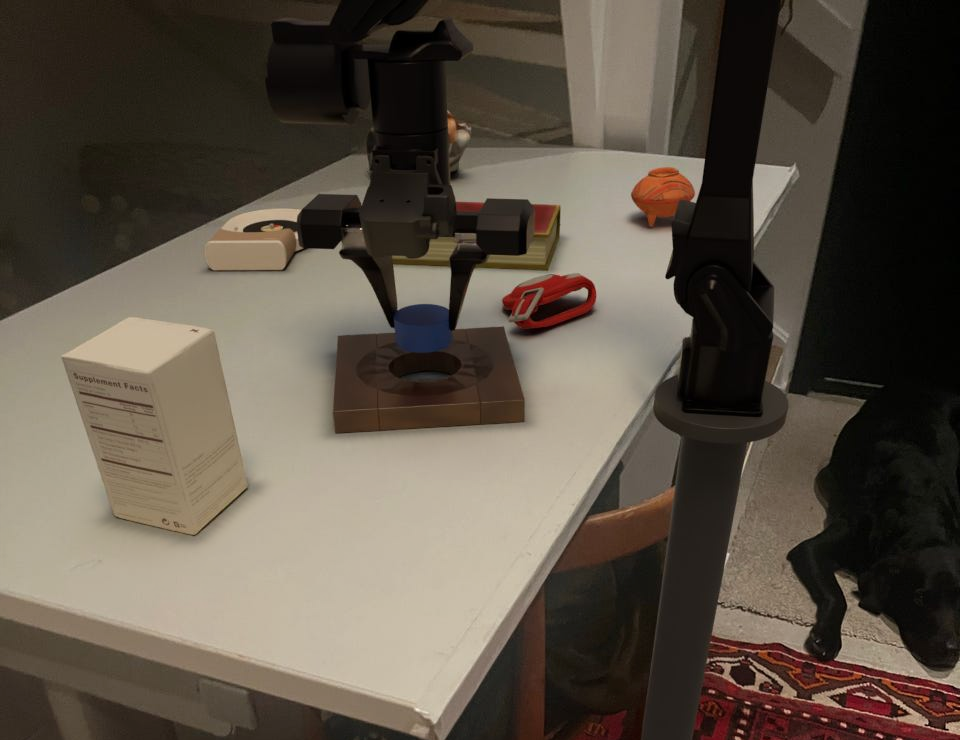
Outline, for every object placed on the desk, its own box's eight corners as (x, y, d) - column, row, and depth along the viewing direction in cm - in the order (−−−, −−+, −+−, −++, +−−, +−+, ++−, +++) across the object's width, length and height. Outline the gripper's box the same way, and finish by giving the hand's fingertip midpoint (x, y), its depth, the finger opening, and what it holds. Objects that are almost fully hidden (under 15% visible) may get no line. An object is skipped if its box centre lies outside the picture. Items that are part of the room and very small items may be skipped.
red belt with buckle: (490, 287, 100) (579, 257, 99) (502, 328, 102) (589, 299, 101) (504, 301, 89) (604, 267, 89) (517, 346, 91) (614, 314, 91)
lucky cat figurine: (467, 164, 144) (486, 80, 131) (451, 217, 139) (468, 135, 126) (374, 133, 142) (383, 45, 130) (353, 185, 137) (362, 100, 125)
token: (457, 331, 83) (456, 304, 81) (446, 354, 79) (445, 326, 78) (403, 329, 84) (401, 302, 82) (389, 351, 80) (387, 324, 78)
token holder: (503, 346, 91) (503, 326, 89) (524, 421, 79) (524, 400, 77) (340, 355, 90) (337, 335, 88) (335, 433, 78) (332, 411, 76)
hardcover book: (397, 231, 119) (394, 196, 116) (559, 237, 116) (560, 201, 113) (372, 262, 110) (369, 225, 107) (547, 270, 107) (548, 231, 104)
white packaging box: (172, 470, 73) (129, 313, 65) (251, 488, 71) (217, 326, 63) (110, 518, 68) (56, 353, 60) (193, 538, 66) (149, 370, 58)
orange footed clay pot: (684, 231, 115) (678, 173, 111) (626, 238, 119) (618, 182, 115) (706, 212, 120) (700, 155, 116) (650, 219, 124) (642, 165, 120)
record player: (193, 242, 107) (236, 196, 122) (198, 270, 109) (240, 221, 124) (292, 242, 106) (323, 195, 122) (296, 269, 108) (326, 220, 124)
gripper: (257, 150, 66) (291, 360, 76) (517, 155, 63) (516, 372, 73) (306, 116, 74) (330, 309, 84) (537, 119, 71) (534, 319, 82)
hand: (423, 327), depth 81 cm, fingers closed on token, 5 cm apart
